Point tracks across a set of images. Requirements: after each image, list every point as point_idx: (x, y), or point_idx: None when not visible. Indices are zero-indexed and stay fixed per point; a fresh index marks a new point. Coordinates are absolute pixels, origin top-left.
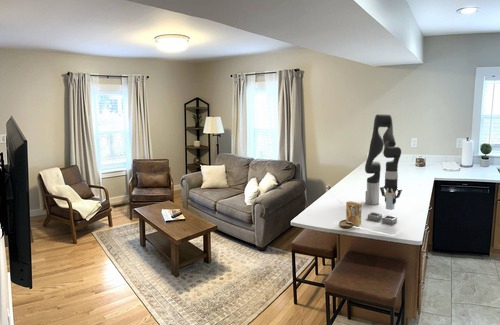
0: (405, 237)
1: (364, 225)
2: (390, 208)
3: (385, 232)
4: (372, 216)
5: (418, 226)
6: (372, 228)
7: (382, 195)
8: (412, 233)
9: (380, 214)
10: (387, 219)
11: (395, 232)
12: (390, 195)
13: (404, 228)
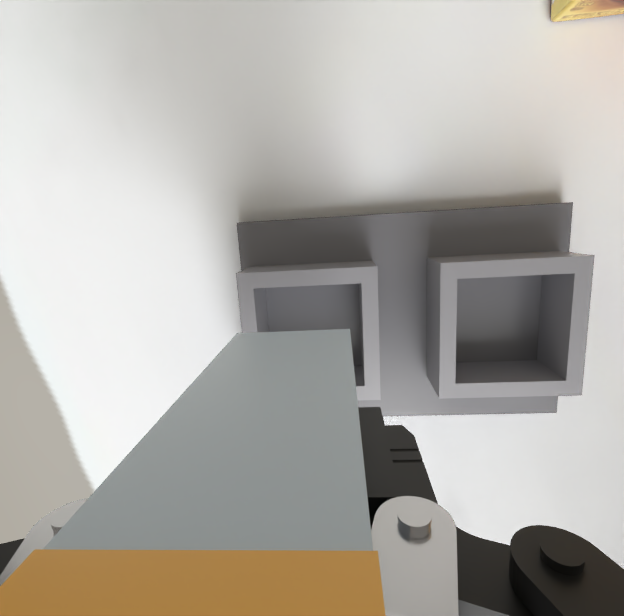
0: (3, 16)
1: (512, 55)
2: (259, 338)
3: (218, 5)
4: (513, 257)
5: (76, 404)
6: (389, 24)
7: (571, 544)
8: (18, 183)
9: (449, 374)
10: (308, 268)
11: (143, 89)
12: (143, 552)
13: (137, 269)
